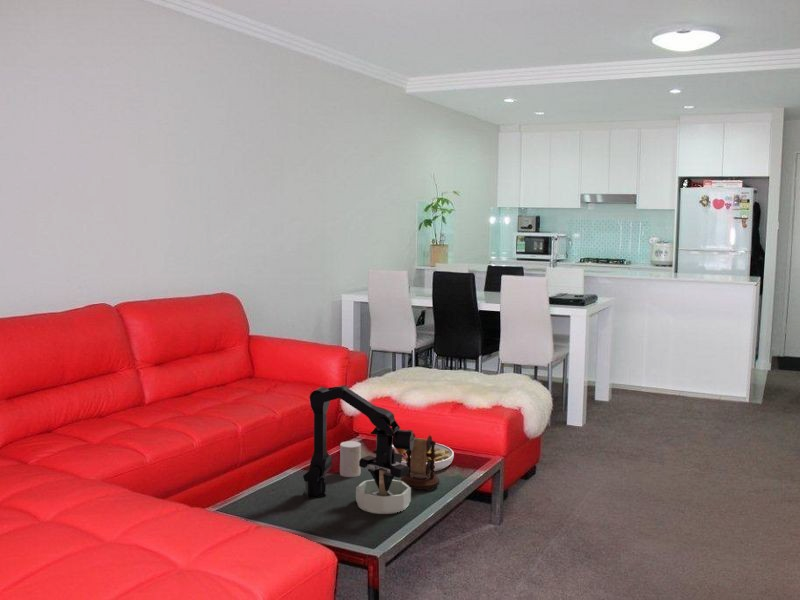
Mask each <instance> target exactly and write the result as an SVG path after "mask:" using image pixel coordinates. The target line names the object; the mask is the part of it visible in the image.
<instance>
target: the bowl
mask: <svg viewBox="0 0 800 600" xmlns="http://www.w3.org/2000/svg"><path fill="white" fill-rule="evenodd" d="M435 443H436V444H435V447H434V449H435V452H434V453H435V454H436V456H435V459H434V462H435V463H434V466H435V469H433V470H434V472H438V471H441V470H444V469H446V468H447V467H449V465H451V464H452V462H453V460H454V457H455V453H454V450H453V449H452V448H450V447H448V446H446V445H444V444H440V443H437V442H435ZM431 446H432V445H431ZM431 448H432V447H431ZM431 448H430V450H429V452H426V453H429V454H430V453H432V452H431ZM392 449H395V453H399V454H402V455H403V457H402V461H401V463H399V462H396V463H395V464H392V466H396V465H399V464H402V465H405V466H407V465H406V463H407V457H408V456H407V454H406V451H407V450H404V449H396V448H395V447H394V446H393V443H392ZM410 458H411V456H410ZM429 459H431V458H430V456H429V457H427V456H426V464H427V462H428V460H429ZM430 473H431V471H430Z"/></svg>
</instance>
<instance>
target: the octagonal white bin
mask: <svg viewBox="0 0 800 600" xmlns="http://www.w3.org/2000/svg"><path fill="white" fill-rule="evenodd" d="M355 502H356V503H357V504H356V505H357V507H358V508H359V509H361V510H362V511H364V512H366V513H370V514H377V515H390V514H391V515H392V514H398V513H400V511H401V512H403V510H404V511H405V510H407V509H408V508H409V507H408V506H410V503H411V502H412V488H410V487H409V486H408V485H407V484H405V483H404V482H403V481H401V480H399V479H397V480H396V479H393V480H392V482H391V485H390V487H389V490H388V492H387V496H384V497H383V496H379V489H378V487H377V485H376V482H375V480H374V478H372V479H367V480H364V481H362V482H360V483H359V485H357V486H356V487H355ZM407 507H408V508H407ZM406 508H407V509H406ZM397 512H398V513H397Z"/></svg>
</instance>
